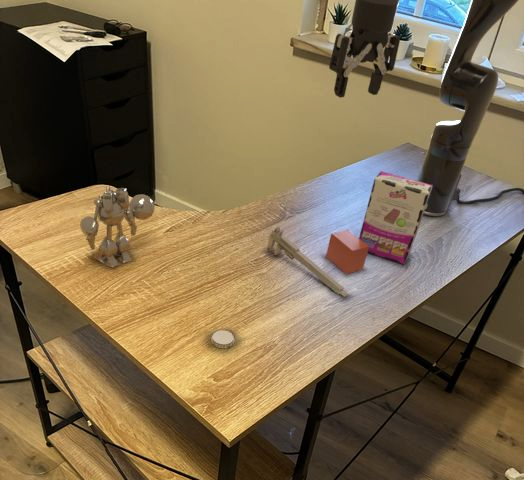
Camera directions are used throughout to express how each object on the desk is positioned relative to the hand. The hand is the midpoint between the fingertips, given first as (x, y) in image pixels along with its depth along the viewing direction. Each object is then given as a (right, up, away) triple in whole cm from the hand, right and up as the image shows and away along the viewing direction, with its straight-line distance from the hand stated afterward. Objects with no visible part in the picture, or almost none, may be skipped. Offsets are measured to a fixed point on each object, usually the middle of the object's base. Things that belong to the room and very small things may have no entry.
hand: (356, 94), depth 104 cm
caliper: (-10, -35, +2) cm, 36 cm away
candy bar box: (+8, -29, +12) cm, 32 cm away
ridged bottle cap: (-25, -49, -15) cm, 57 cm away
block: (-1, -32, +7) cm, 33 cm away
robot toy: (-46, -32, -1) cm, 56 cm away
